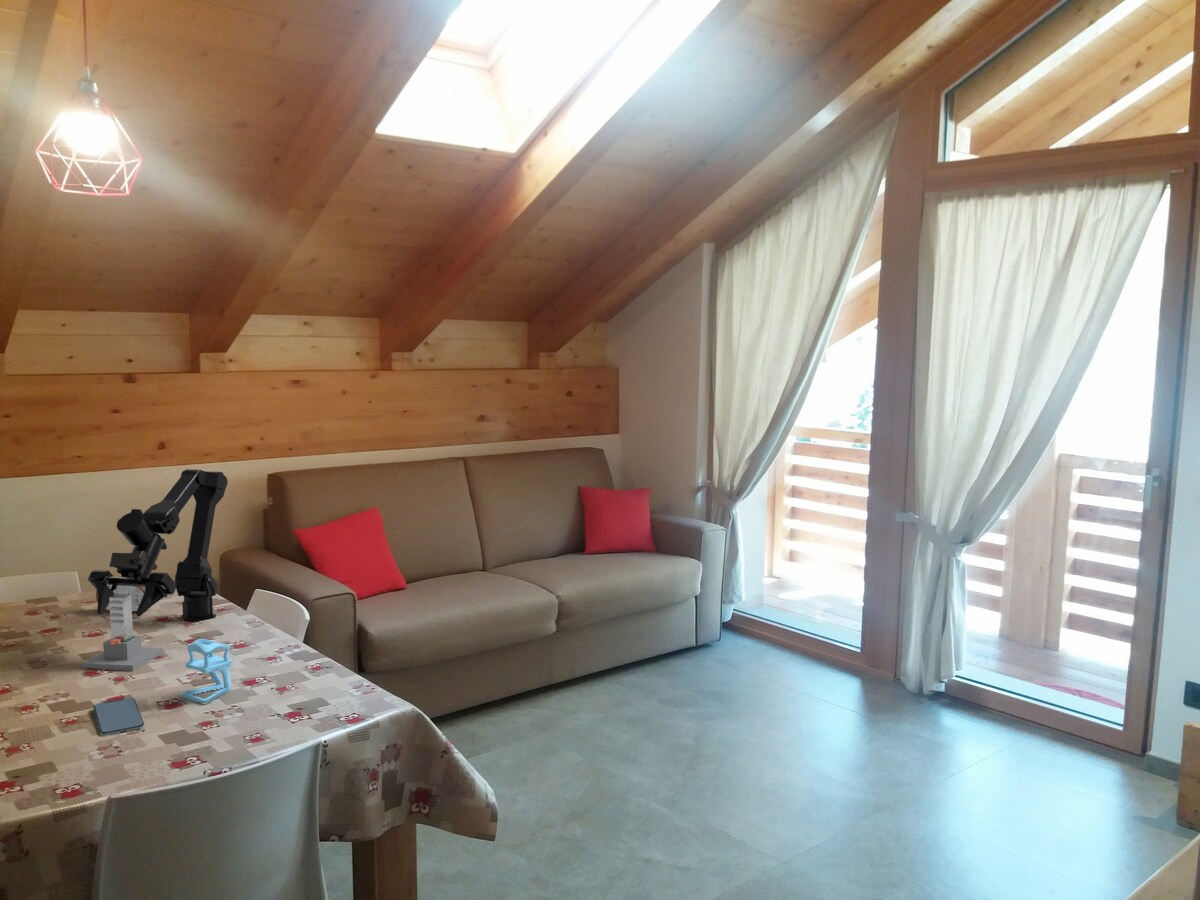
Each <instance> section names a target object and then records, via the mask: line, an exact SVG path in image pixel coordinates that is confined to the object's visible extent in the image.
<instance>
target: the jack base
mask: <svg viewBox="0 0 1200 900" xmlns="http://www.w3.org/2000/svg"><path fill="white" fill-rule="evenodd" d="M142 645H143V644H142V635H134V638H133V639H131V640H129V641H127V642H121V639H111V638H109V639H107V640H105V641H104V642H103V643H102V646H103V651H102V652H100V653H98V654H96V655H93V656H92V657H89V658H88V659H86V660H84V661H82V663H81V669H87V668H92V669H91V670H111V671H126V672H127V671H131V672H132V671H136V670H137V669H138V668H140V667H142V666H143V665H145V664H147V663H148V662H151V661H152V660H154V659H155V658H156V657H158V656H160V655H162V654H163V653H164V650H163V649H164V648H163V647H156V646H155V647H152V646H142Z"/></svg>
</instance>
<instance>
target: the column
mask: <svg viewBox="0 0 1200 900" xmlns="http://www.w3.org/2000/svg"><path fill="white" fill-rule="evenodd" d="M109 601H110V611H109V615H110V616H109V617H110V618H109V619H110V622H109V623H110V639H121V642H127V641H129V640H131V639H133V638H134V636H135V635H134V630H133V613H132V602H131V594H116V595H114V596H112V597H110V598H109Z"/></svg>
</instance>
